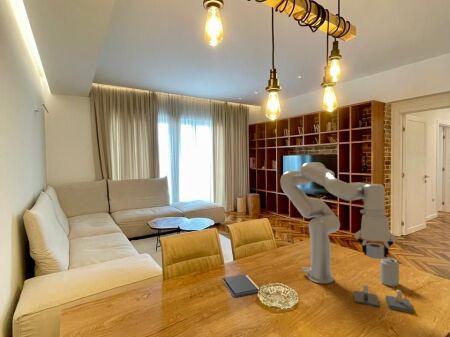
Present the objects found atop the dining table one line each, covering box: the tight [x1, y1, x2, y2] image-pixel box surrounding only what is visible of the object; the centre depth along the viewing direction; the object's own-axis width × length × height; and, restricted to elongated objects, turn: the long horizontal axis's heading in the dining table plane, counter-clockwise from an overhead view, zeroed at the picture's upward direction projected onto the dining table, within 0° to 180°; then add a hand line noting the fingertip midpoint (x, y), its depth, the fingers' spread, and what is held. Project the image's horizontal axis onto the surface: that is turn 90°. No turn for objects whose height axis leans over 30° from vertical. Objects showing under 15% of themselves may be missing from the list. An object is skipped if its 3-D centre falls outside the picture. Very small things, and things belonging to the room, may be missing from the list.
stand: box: [353, 285, 380, 308], centre depth 109 cm, size 9×9×6 cm
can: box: [379, 256, 400, 288], centre depth 122 cm, size 8×8×12 cm
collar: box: [365, 242, 385, 260], centre depth 107 cm, size 7×7×4 cm
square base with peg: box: [385, 289, 414, 314], centre depth 104 cm, size 8×8×6 cm
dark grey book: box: [220, 274, 260, 299], centre depth 123 cm, size 20×2×15 cm
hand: (375, 254), depth 107 cm, fingers closed on collar, 6 cm apart
